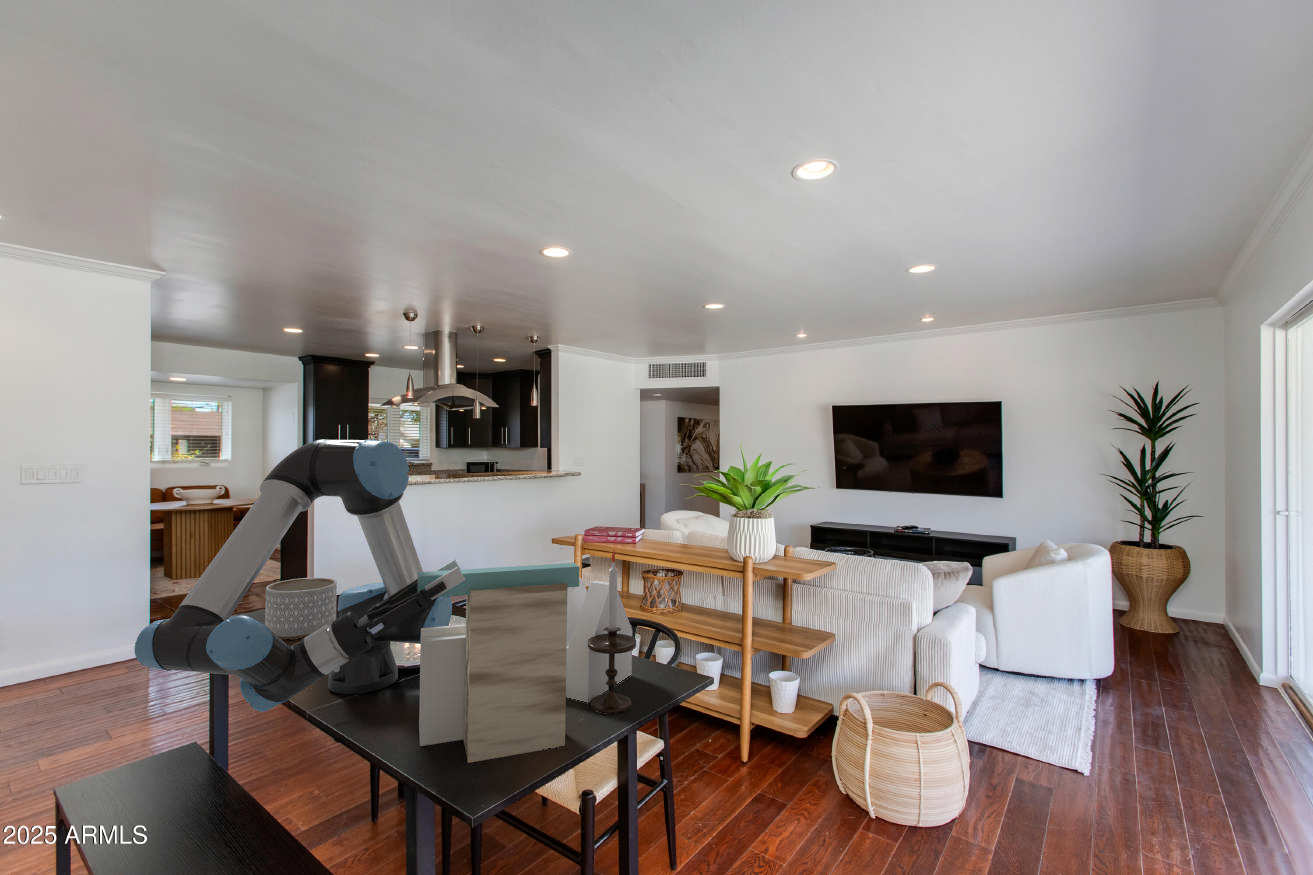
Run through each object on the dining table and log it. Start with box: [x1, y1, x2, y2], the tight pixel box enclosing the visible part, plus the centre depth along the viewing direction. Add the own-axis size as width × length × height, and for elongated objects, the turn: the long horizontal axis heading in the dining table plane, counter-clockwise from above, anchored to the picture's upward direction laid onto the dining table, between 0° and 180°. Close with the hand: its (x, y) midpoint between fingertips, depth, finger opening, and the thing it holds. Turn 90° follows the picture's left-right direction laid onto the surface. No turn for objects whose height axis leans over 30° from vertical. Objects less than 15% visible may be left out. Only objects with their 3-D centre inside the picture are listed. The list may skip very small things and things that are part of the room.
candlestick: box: [588, 549, 637, 715], centre depth 138 cm, size 11×11×35 cm
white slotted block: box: [566, 578, 633, 704], centre depth 151 cm, size 19×15×25 cm
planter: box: [264, 577, 338, 640], centre depth 187 cm, size 19×19×14 cm
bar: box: [418, 562, 581, 597], centre depth 119 cm, size 4×30×4 cm, turn 112°
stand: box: [463, 583, 568, 764], centre depth 120 cm, size 9×18×31 cm, turn 112°
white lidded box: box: [418, 623, 466, 747], centre depth 126 cm, size 9×18×20 cm, turn 112°
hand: (459, 569), depth 116 cm, fingers open, 7 cm apart
